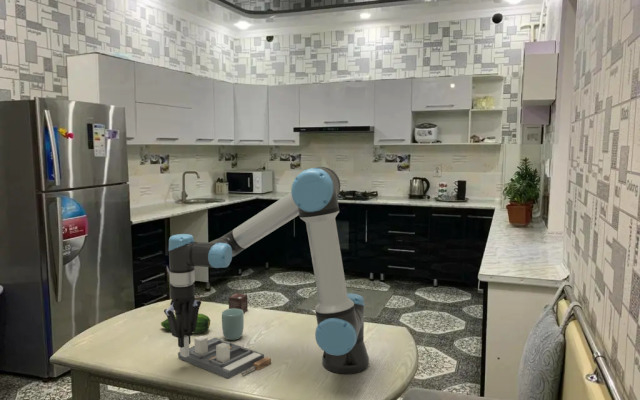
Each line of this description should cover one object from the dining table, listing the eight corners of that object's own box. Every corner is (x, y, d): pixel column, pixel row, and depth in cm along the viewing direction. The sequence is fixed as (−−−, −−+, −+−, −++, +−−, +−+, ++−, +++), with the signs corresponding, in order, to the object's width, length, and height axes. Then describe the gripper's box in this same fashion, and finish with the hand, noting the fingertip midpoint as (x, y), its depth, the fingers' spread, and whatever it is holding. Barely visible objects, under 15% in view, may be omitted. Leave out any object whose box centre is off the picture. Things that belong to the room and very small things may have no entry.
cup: (239, 343, 174) (238, 316, 173) (219, 341, 176) (218, 314, 175) (246, 334, 182) (246, 309, 181) (227, 333, 184) (226, 307, 183)
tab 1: (207, 352, 161) (207, 337, 160) (200, 355, 159) (200, 340, 158) (201, 350, 163) (201, 335, 162) (194, 353, 160) (194, 338, 160)
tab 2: (229, 359, 155) (229, 344, 155) (222, 363, 153) (222, 347, 152) (223, 357, 157) (223, 342, 157) (216, 360, 155) (216, 345, 154)
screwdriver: (266, 362, 159) (266, 356, 159) (271, 364, 158) (271, 358, 158) (239, 376, 150) (239, 370, 150) (244, 378, 149) (244, 371, 148)
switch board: (264, 360, 160) (264, 352, 160) (228, 378, 148) (227, 370, 147) (215, 342, 175) (214, 335, 174) (178, 358, 162) (178, 350, 162)
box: (235, 309, 211) (235, 292, 210) (248, 310, 209) (247, 294, 208) (228, 313, 205) (228, 296, 204) (241, 315, 203) (241, 298, 202)
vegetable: (206, 313, 181) (158, 310, 185) (203, 333, 179) (154, 329, 183) (214, 316, 188) (167, 312, 192) (211, 335, 185) (164, 331, 190)
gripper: (191, 277, 160) (193, 345, 163) (157, 286, 149) (160, 359, 152) (206, 281, 155) (208, 351, 158) (172, 290, 145) (175, 366, 148)
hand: (184, 355), depth 155 cm, fingers closed
